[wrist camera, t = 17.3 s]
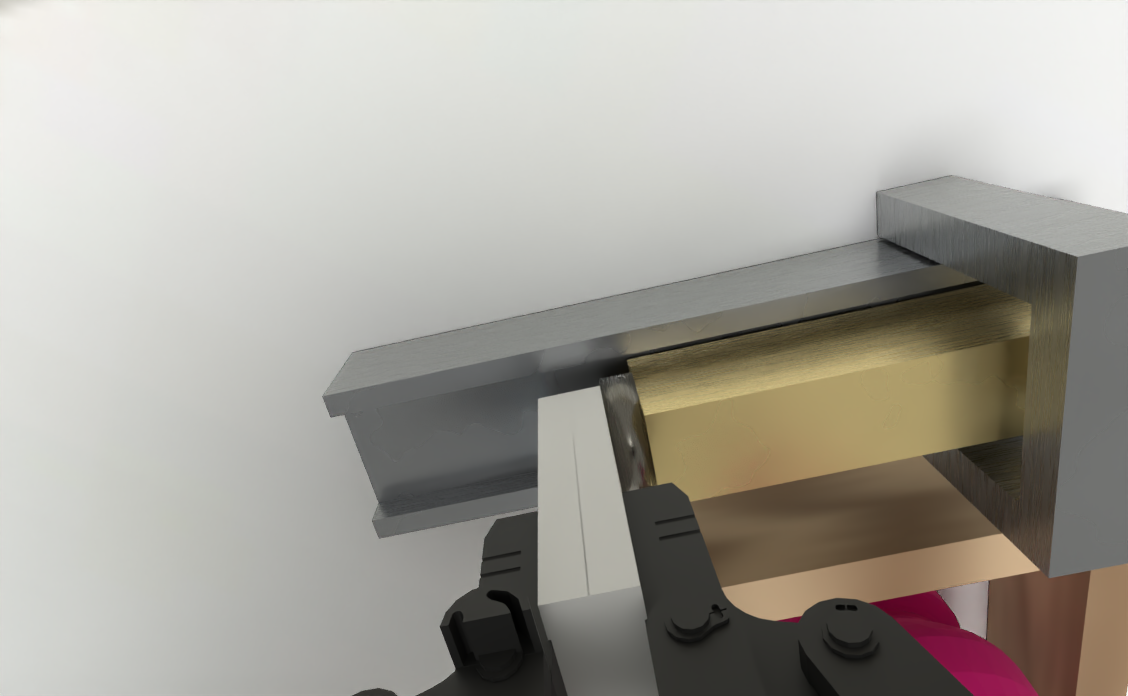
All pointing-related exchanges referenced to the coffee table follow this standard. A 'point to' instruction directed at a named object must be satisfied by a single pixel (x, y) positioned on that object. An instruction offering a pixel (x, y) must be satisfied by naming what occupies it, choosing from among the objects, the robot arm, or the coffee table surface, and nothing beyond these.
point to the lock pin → (823, 395)
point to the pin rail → (776, 299)
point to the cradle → (916, 567)
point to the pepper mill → (955, 646)
